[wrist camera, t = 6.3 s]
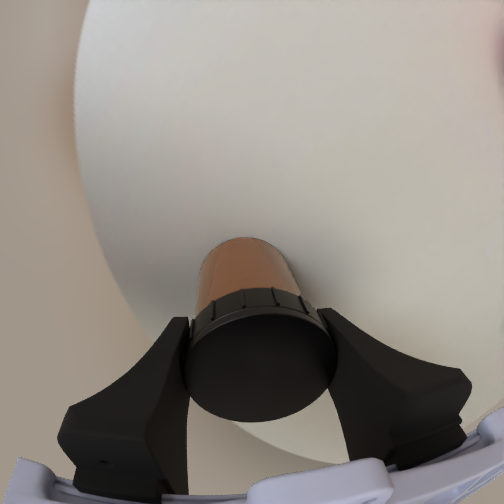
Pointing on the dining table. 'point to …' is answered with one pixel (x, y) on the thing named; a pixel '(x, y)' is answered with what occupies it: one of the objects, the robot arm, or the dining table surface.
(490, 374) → the dining table surface
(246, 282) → the jar
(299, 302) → the jar lid
